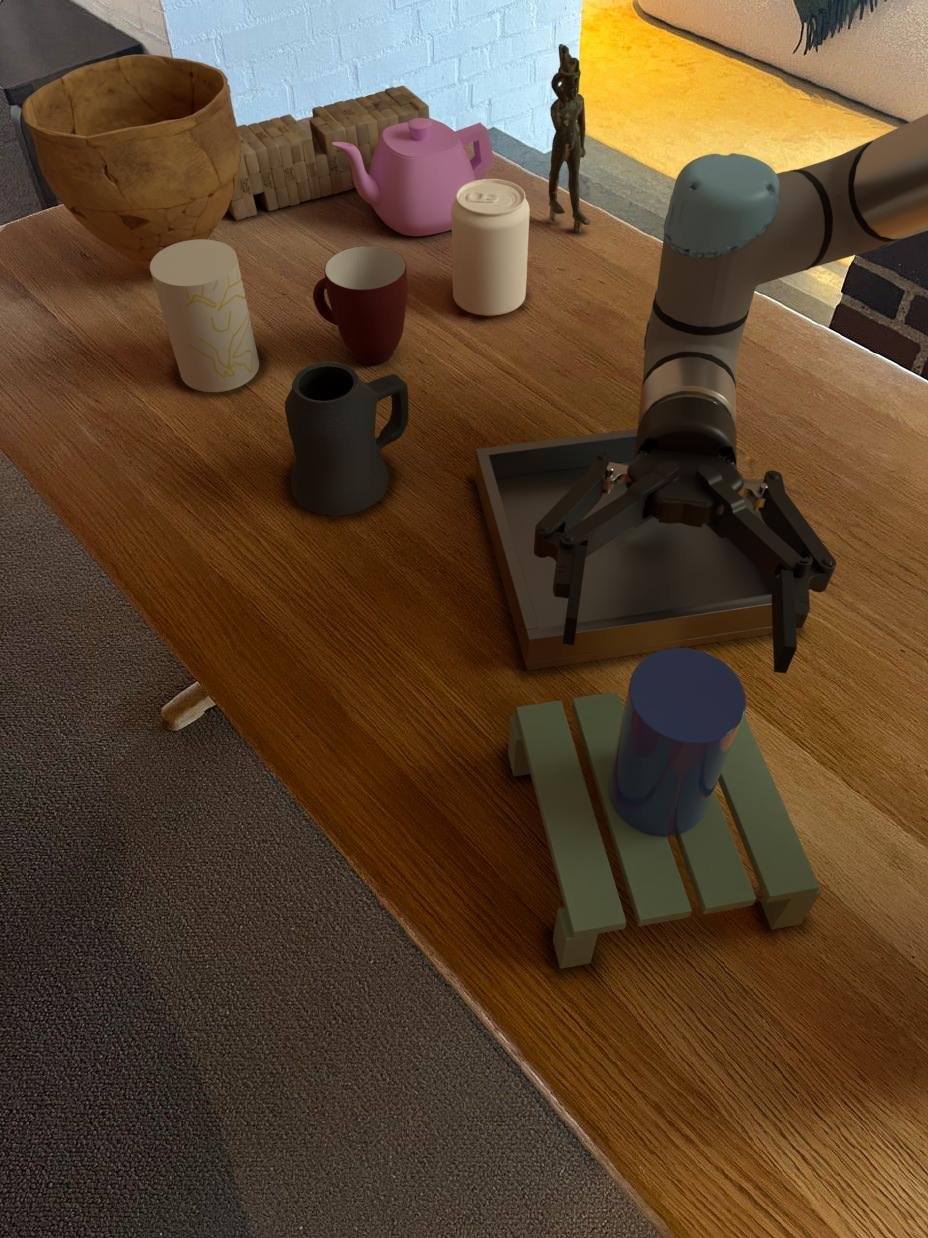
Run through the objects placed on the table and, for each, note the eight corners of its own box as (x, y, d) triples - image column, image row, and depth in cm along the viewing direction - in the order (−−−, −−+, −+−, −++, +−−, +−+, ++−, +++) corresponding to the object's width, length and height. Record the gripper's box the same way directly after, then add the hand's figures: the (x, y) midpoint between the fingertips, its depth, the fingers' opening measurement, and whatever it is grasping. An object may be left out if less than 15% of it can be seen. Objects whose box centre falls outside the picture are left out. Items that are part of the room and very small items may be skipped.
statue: (570, 246, 114) (585, 66, 99) (533, 226, 117) (542, 48, 102) (597, 232, 116) (616, 53, 101) (560, 213, 119) (572, 36, 104)
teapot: (325, 207, 121) (314, 115, 112) (470, 174, 126) (470, 84, 117) (361, 258, 113) (351, 164, 104) (514, 222, 118) (517, 129, 109)
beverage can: (520, 323, 104) (524, 218, 95) (447, 316, 105) (444, 211, 96) (529, 282, 109) (535, 179, 100) (460, 276, 110) (458, 173, 101)
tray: (793, 631, 77) (806, 598, 74) (526, 671, 75) (529, 639, 72) (703, 452, 91) (711, 418, 88) (475, 481, 89) (475, 448, 86)
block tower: (225, 230, 119) (434, 168, 127) (209, 163, 112) (430, 101, 120) (205, 202, 123) (408, 143, 131) (188, 136, 117) (403, 78, 124)
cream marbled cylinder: (213, 402, 96) (185, 296, 87) (164, 369, 100) (132, 263, 90) (275, 365, 100) (254, 259, 91) (226, 335, 103) (201, 230, 94)
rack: (800, 924, 62) (826, 886, 57) (559, 969, 60) (566, 933, 56) (716, 720, 72) (733, 673, 67) (507, 753, 70) (510, 707, 66)
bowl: (78, 330, 104) (8, 144, 89) (85, 235, 117) (26, 57, 101) (269, 307, 107) (235, 121, 91) (256, 216, 119) (224, 40, 104)
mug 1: (301, 363, 100) (286, 276, 92) (333, 321, 105) (321, 235, 97) (394, 383, 98) (387, 296, 90) (423, 339, 103) (418, 253, 95)
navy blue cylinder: (722, 827, 60) (764, 732, 51) (623, 844, 59) (648, 751, 51) (689, 741, 64) (722, 639, 55) (596, 756, 63) (615, 656, 55)
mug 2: (321, 530, 85) (304, 430, 76) (273, 473, 90) (251, 373, 81) (434, 476, 89) (429, 376, 80) (382, 425, 94) (373, 325, 85)
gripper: (837, 485, 76) (859, 706, 63) (524, 450, 79) (482, 654, 65) (868, 409, 70) (899, 635, 57) (528, 375, 73) (483, 582, 60)
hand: (676, 646), depth 61 cm, fingers open, 13 cm apart
